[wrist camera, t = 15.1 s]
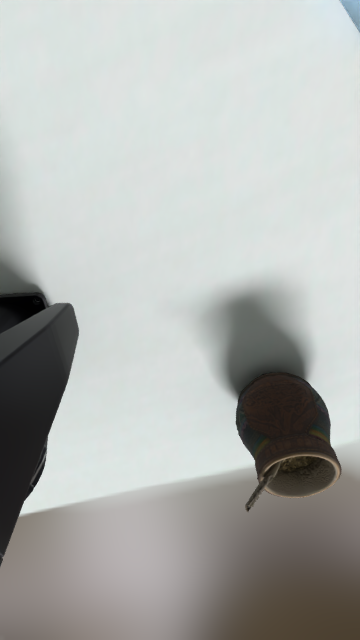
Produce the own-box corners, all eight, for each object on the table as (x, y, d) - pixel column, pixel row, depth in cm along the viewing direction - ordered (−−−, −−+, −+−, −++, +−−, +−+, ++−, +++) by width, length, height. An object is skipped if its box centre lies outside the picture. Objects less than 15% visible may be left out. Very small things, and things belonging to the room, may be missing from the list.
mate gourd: (314, 413, 30) (364, 530, 22) (232, 424, 31) (251, 541, 23) (315, 354, 26) (378, 469, 18) (222, 368, 27) (240, 485, 19)
